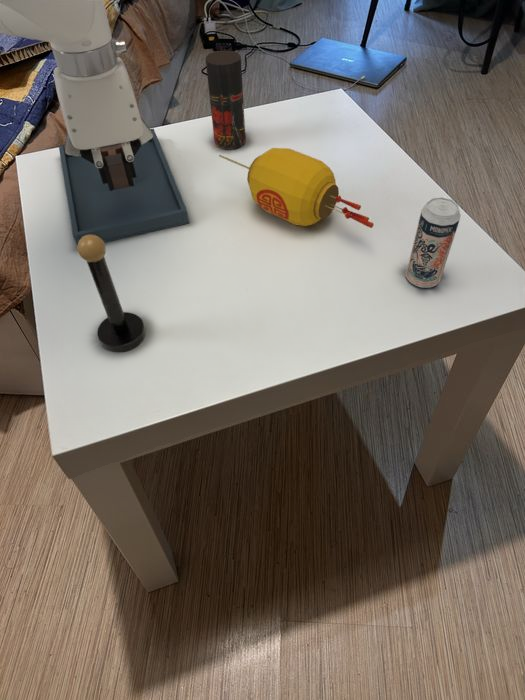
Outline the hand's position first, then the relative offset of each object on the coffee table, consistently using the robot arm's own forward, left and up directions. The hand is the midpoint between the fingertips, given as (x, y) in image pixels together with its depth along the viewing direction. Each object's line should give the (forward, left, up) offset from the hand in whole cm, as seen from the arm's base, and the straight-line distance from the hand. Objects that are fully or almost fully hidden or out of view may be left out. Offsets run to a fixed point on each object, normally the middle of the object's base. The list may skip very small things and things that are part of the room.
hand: (120, 182), depth 81 cm
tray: (0, +8, -6) cm, 10 cm away
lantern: (+25, -9, -6) cm, 27 cm away
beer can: (+37, -30, -6) cm, 48 cm away
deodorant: (+22, +16, -6) cm, 28 cm away
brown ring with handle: (0, +9, 0) cm, 9 cm away
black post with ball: (-5, -26, -6) cm, 27 cm away
